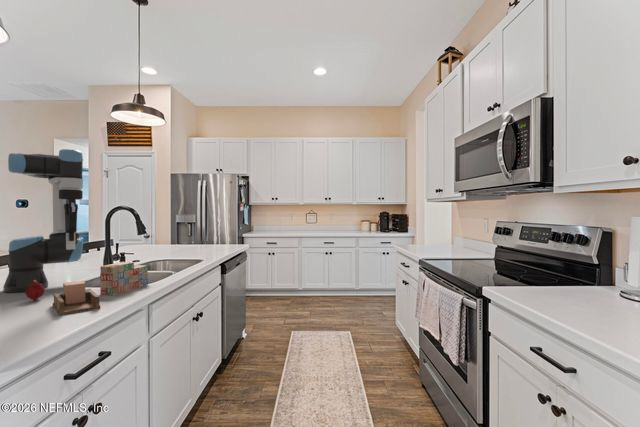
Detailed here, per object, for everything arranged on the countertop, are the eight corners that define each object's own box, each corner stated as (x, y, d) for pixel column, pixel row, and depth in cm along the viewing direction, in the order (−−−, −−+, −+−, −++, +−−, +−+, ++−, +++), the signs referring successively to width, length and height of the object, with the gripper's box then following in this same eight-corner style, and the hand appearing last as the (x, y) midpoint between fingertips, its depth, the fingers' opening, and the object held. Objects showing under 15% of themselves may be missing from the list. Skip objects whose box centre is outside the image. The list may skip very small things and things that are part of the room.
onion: (47, 299, 133) (47, 279, 133) (30, 303, 128) (30, 282, 127) (39, 297, 135) (39, 278, 135) (22, 301, 130) (22, 280, 130)
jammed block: (63, 301, 126) (63, 282, 126) (82, 298, 130) (82, 280, 130) (65, 304, 121) (65, 285, 121) (85, 301, 126) (85, 283, 126)
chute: (52, 305, 124) (52, 293, 124) (90, 299, 133) (91, 288, 133) (58, 315, 113) (58, 302, 113) (100, 308, 121) (100, 296, 121)
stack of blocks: (136, 283, 162) (136, 258, 162) (148, 284, 161) (148, 259, 161) (99, 294, 141) (100, 265, 141) (112, 295, 140) (112, 266, 140)
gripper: (56, 189, 133) (56, 248, 133) (61, 188, 123) (61, 251, 124) (79, 190, 138) (79, 247, 139) (85, 189, 129) (85, 250, 129)
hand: (70, 249), depth 131 cm, fingers closed
